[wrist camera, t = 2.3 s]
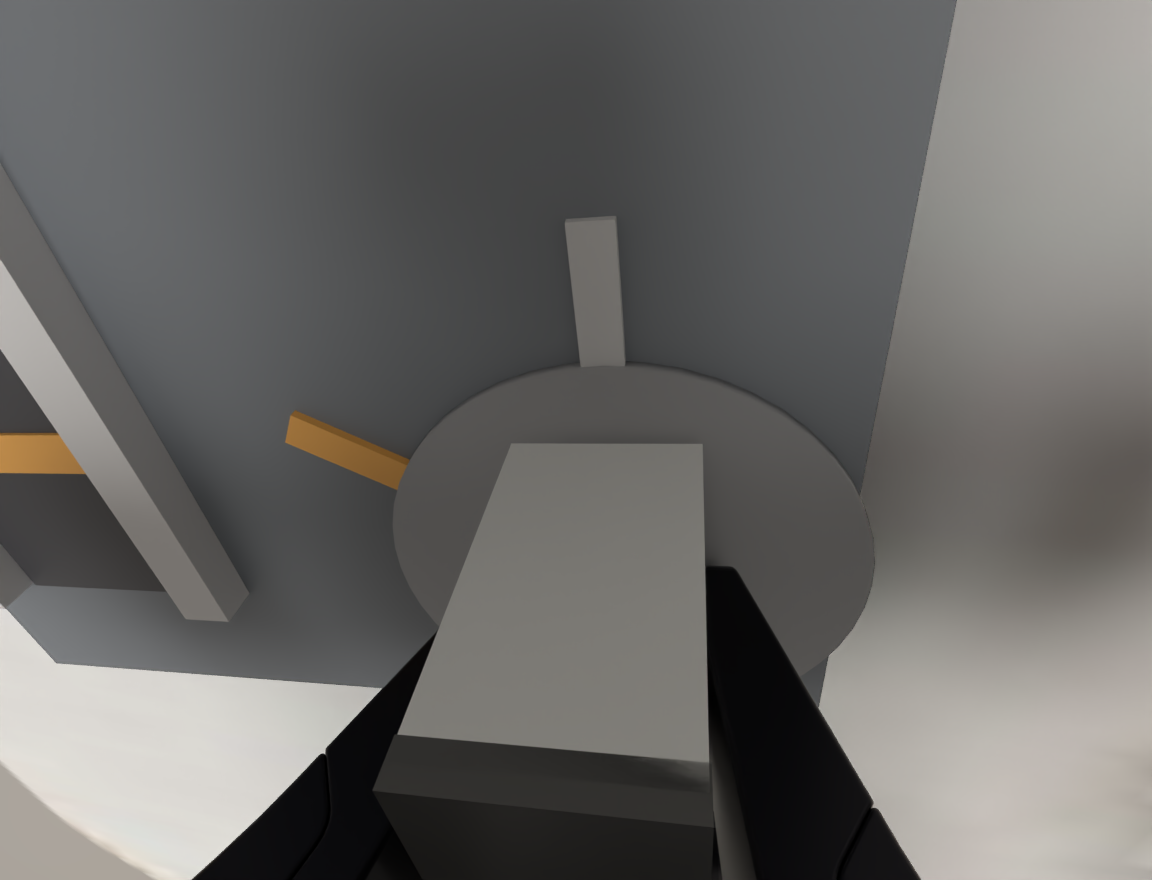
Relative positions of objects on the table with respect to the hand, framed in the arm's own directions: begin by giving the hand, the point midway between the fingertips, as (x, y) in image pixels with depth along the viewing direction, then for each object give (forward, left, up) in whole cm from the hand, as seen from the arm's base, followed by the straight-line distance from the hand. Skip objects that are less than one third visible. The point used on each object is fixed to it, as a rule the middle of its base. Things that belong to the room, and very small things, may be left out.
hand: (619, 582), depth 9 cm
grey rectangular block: (0, 0, 0) cm, 0 cm away
